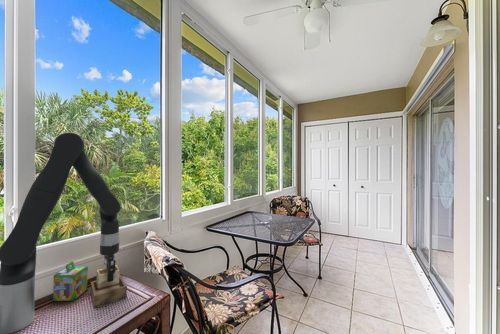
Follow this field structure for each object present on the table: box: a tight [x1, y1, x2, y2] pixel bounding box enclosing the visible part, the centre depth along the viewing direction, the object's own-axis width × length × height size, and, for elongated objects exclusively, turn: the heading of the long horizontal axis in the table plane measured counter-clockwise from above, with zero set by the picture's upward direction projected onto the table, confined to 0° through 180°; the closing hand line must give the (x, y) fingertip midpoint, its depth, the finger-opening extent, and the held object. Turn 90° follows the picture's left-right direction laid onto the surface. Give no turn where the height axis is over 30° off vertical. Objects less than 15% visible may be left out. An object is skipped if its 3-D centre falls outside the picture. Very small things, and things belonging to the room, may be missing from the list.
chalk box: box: [52, 260, 89, 302], centre depth 99 cm, size 9×9×15 cm
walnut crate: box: [90, 274, 128, 309], centre depth 101 cm, size 12×14×5 cm
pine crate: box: [96, 265, 121, 289], centre depth 100 cm, size 8×6×6 cm
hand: (109, 278), depth 101 cm, fingers closed on pine crate, 6 cm apart
